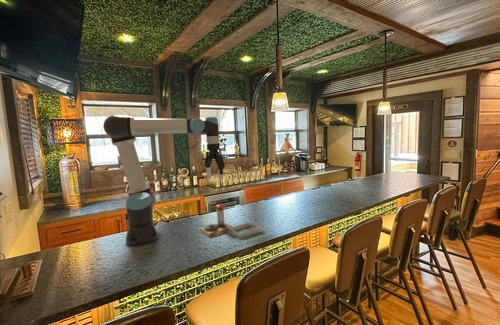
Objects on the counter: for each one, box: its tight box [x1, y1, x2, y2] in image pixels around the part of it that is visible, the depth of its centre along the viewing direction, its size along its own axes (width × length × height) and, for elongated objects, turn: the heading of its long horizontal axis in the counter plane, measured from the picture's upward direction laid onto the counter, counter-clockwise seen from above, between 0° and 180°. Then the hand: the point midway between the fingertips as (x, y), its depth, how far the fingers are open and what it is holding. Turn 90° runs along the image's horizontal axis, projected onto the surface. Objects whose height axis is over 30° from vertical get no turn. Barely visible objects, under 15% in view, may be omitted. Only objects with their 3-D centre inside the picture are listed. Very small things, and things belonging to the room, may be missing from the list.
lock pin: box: [214, 203, 226, 228], centre depth 133 cm, size 5×5×14 cm
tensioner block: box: [199, 222, 233, 238], centre depth 132 cm, size 14×10×5 cm
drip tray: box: [227, 222, 262, 240], centre depth 129 cm, size 13×11×3 cm
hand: (214, 178), depth 150 cm, fingers open, 13 cm apart
